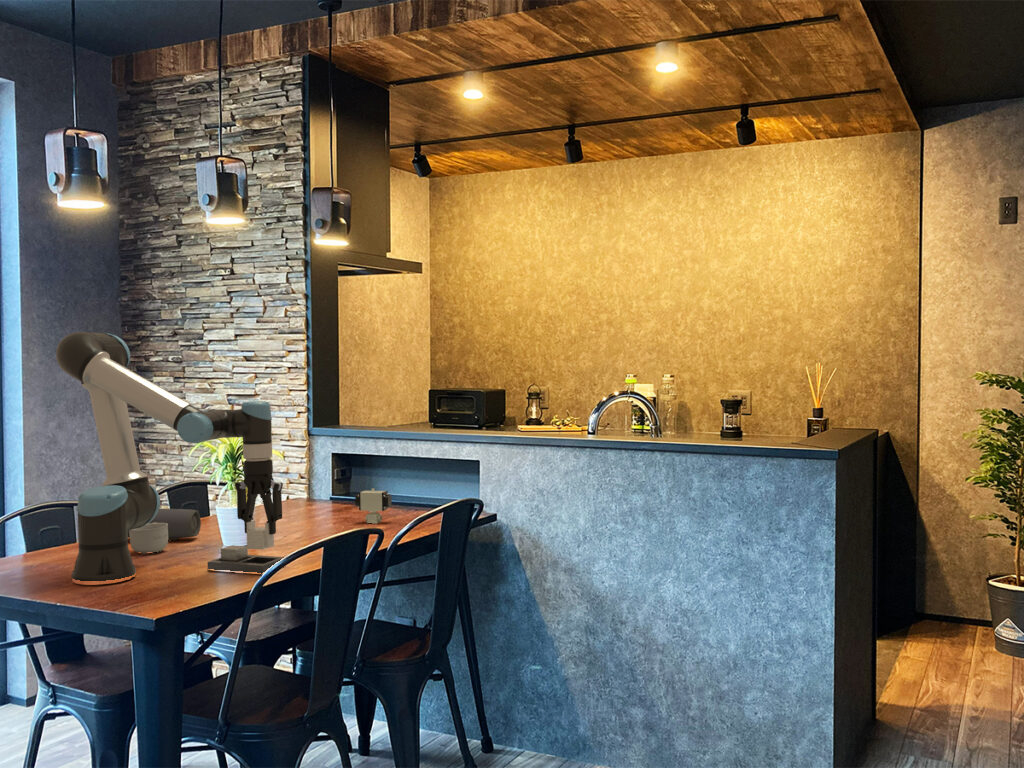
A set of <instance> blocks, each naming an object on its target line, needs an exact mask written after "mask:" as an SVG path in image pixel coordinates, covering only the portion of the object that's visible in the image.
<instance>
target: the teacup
mask: <svg viewBox="0 0 1024 768" xmlns="http://www.w3.org/2000/svg"><path fill="white" fill-rule="evenodd" d="M129 536H130V537H129V542H130V543H129V544H130V548H131V549H132V550H133V552H136V553H137V552H141V553H147V552H157V553H160V552H162V551H163V550H164V549H165V548H166V547H167V546H168V544H169V541H168V524H167V523H156V522H155V523H149V524H146V525H144V526H143V527H140V528H136V529H132V530H129ZM159 551H160V552H159Z"/></svg>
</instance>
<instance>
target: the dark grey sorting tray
mask: <svg viewBox="0 0 1024 768" xmlns="http://www.w3.org/2000/svg"><path fill="white" fill-rule="evenodd" d="M248 550H249V549H247V545H232V544H231V545H229V546H225V547H223V548H220V557H218V558H216V559H213V560H210V561H207V570H208V569H214V570H230V571H243V572H257V573H261V574H262V573H263V572H265V571H266V570H267V569H268V568H270V567H271V566H272V565H274V564H275V563H276V562H278V561H280V560H281V559H282V558H284V557H285V556H275V555H273V556H272V555H271V556H270V555H259V554H257V555H256V554H249V552H248Z"/></svg>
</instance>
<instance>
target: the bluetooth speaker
mask: <svg viewBox="0 0 1024 768" xmlns="http://www.w3.org/2000/svg"><path fill="white" fill-rule="evenodd" d="M155 522H156V523H167V524H168V540H176V541H178V540H177V539H183V538H186V539H187V538H193V537H197V536H198V535H199V533H200V531H201V525H202V520H201V515H200V511H199V510H196V509H189V508H188V509H186V508H159V511H158V513H157V515H156V517H155V518H154V519H153V520H152V521H151V522H149V523H155ZM149 523H147V524H149ZM128 538H130V536H129V531H128Z"/></svg>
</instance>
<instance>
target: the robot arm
mask: <svg viewBox="0 0 1024 768" xmlns="http://www.w3.org/2000/svg"><path fill="white" fill-rule="evenodd" d="M55 355H56V356H55V357H56V361H57V364H58V366H59V367H60V369H62V371H63V372H65V374H67V375H69V376H71V377H72V378H74V379H76V380H78V381H80V384H81V387H83V388H84V389H86V390H87V391H88V393H89V396H90V402H91V407H92V411H93V416H94V421H95V425H96V430H97V436H98V441H99V444H100V445H99V446H100V449H101V450H100V451H101V455H102V461H103V465H104V469H105V470H104V471H105V476H106V479H104V481H103V483H102V484H101V486H97V487H91V488H87V489H86V490H83V491H82V492H81V493H80V494H79V495H78V497H77V506H76V511H77V527H78V529H77V531H78V532H77V533H78V534H77V535H78V554H77V556H76V560H75V562H74V563H75V564H74V568H73V570H72V572H71V579H72V578H73V579H75V580H80V581H106V580H115V579H121V578H125V577H129V576H132V575H134V574H135V573H136V572H137V569H136V565H135V564H134V562H133V558H132V555H131V552H130V549H129V537H128V531H129V530H132V529H136V528H140V527H143V526H144V525H146V524H147V523H149V522H151V521H152V520H153V519H154V518H155V517H156V515H157V513H158V511H159V509H161V499H160V495H159V492H158V490H157V488H155V487H153V486H152V485H151V484H150V482H149V476H148V475H147V474H146V473H144V472H143V471H142V470H141V466H140V462H139V457H138V453H137V448H136V444H135V443H136V442H135V439H134V438H135V437H134V434H133V433H134V432H133V428H132V423H131V418H130V414H129V409H128V405H130V406H132V407H133V408H135V409H137V410H139V411H141V412H143V413H144V414H146V415H148V416H149V417H151V418H153V419H155V420H156V421H158V422H160V423H161V424H163V425H164V426H167V427H169V428H170V429H173V430H174V431H176V432H177V434H178V435H179V437H180V439H182V440H183V441H184V442H186V443H189V444H201V443H204V442H208V441H212V440H217V439H223V438H225V439H226V438H228V439H229V438H242V458H243V459H244V461H243V474H244V478H243V481H239V482H235V484H234V487H235V490H236V506H237V508H236V512H237V516H236V517H237V519H238V520H242V521H243V523H244V525H243V527H244V533H245V534H247V530H249V529H253V528H256V520H254V519H255V518H254V512H255V507H256V502H257V501H256V500H257V497H258V496H259V497H260V498H261V501H262V504H263V507H264V511H265V515H266V516H265V517H266V520H267V521H266V522H264V527H265V535H266V547H270V548H272V547H271V546H273V547H275V536H274V535H275V534H276V533H277V529H276V528H277V524H276V523H277V521H279V520H282V519H283V499H282V490H283V486H284V484H283V482H282V481H281V482H278V481H275V480H274V478H273V472H274V466H273V465H274V462H273V459H271V458H272V457H273V439H272V436H273V435H272V433H273V432H272V430H273V429H272V427H273V426H272V423H273V422H272V420H273V419H272V418H273V417H272V411H271V408H272V407H271V404H270V403H269V402H268V401H262V400H260V401H245V402H242V404H241V408H239V409H213V408H212V409H207V410H201V409H199V408H197V407H195V406H194V405H192V404H190V403H189V402H187V401H186V400H184V399H182V398H180V397H179V396H177V395H175V394H173V393H172V392H170V391H167V390H166V389H164V388H163V387H161V386H159V385H157V384H155V383H153V382H151V381H150V380H149V379H146V378H144V377H143V376H141V375H139V373H136V372H134V371H132V370H131V369H129V368H128V366H129V365H130V363H131V352H130V348H129V347H128V345H127V343H126V342H125V340H123V338H120V337H119V336H117V335H116V334H111V333H107V332H87V331H76V332H73V333H70V334H68V335H66V336H65V337H63V338H62V339H61V340H60V342H59V343H58V344H57V347H56V352H55ZM127 404H128V405H127ZM246 488H247V489H246ZM271 491H272V492H271ZM136 574H137V573H136Z"/></svg>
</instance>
